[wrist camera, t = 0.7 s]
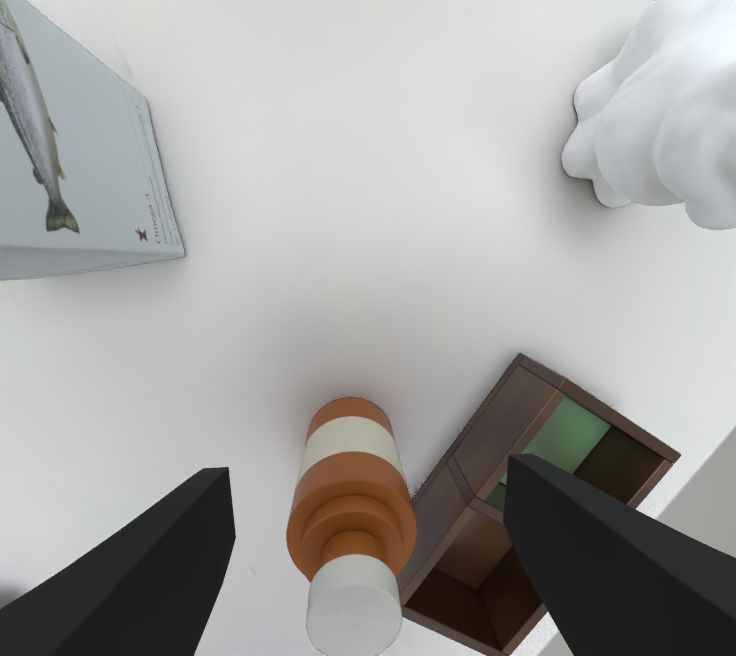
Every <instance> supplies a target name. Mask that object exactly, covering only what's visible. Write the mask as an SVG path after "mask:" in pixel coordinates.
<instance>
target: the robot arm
mask: <svg viewBox="0 0 736 656" xmlns="http://www.w3.org/2000/svg"><path fill="white" fill-rule="evenodd" d="M503 523H504V526H505V528H506V530H507V533H508V535H509V538H510V540H511V542H512V545H513V547H514V549H515V551H516V554H517V556H518V558H519V560H520V562H521V564H522V566H523V568H524V570H525V572H526V573H527V575H528V577H529V579H530V581H531V582H532V584H533V586H534V588H535V589H536V591H537V593H538V595H539V596H540V598H541V600H542V602H543V603H544V605H545V607H546V609H547V610H548V612H549V614H550V615H551V617H552V619H553V621H554V622H555V624H556V626H557V627H558V629H559V631H560V633H561V634H562V636H563V638H564V640H565V641H566V643H567V644H568V647H569V648H570V650H571V652H572V653H573V655H574V656H736V558H734V557H732V556H730V555H728V554H725V553H723V552H721V551H718V550H716V549H714V548H712V547H710V546H708V545H706V544H703V543H701V542H699V541H697V540H695V539H693V538H691V537H688V536H687V535H684V534H682V533H681V532H679V531H677V530H674V529H673V528H671V527H669V526H667V525H665V524H663V523H661V522H659V521H657V520H655V519H653V518H651V517H649V516H647V515H645V514H643V513H641V512H639V511H637V510H635V509H634V508H632V507H630V506H628V505H626V504H624V503H622V502H621V501H619V500H617V499H615V498H613V497H611V496H609V495H608V494H606V493H604V492H602V491H600V490H599V489H597V488H595V487H593V486H591V485H590V484H588V483H586V482H584V481H582V480H581V479H579V478H577V477H575V476H574V475H572V474H570V473H568V472H566V471H565V470H563V469H561V468H559V467H557V466H555V465H554V464H552V463H550V462H548V461H546V460H544V459H542V458H540V457H538V456H536V455H534V454H531V453H529V454H508V466H507V479H506V491H505V503H504V515H503ZM235 538H236V535H235V525H234V516H233V506H232V496H231V487H230V477H229V468H228V467H222V468H203V469H202V470H200V471H199V472H197V473H196V474H194V475H193V476H192V477H190V478H189V479H187V480H186V481H185V482H183V483H182V484H181V485H179V486H178V487H177V488H175V489H174V490H173V491H171V492H170V493H169V494H168V495H166V496H165V497H164V498H162V499H161V500H160V501H158V502H157V503H156V504H154V505H153V506H152V507H150V508H149V509H148V510H146V511H145V512H144V513H142V514H141V515H140V516H138V517H137V518H135V519H134V520H133V521H131V522H130V523H129V524H127V525H126V526H125V527H123V528H122V529H121V530H119V531H118V532H116V533H115V534H113V535H112V536H111V537H109V538H108V539H106V540H105V541H103V542H102V543H101V544H99V545H98V546H96V547H95V548H93V549H92V550H90V551H89V552H88V553H86V554H85V555H83V556H82V557H80V558H79V559H78V560H76V561H75V562H73V563H72V564H70V565H69V566H68V567H66V568H65V569H63V570H62V571H60V572H58V573H57V574H55V575H54V576H52V577H51V578H49V579H48V580H46V581H45V582H43V583H42V584H40V585H38V586H37V587H35V588H34V589H32V590H31V591H29V592H27V593H26V594H24V595H23V596H21V597H19V598H18V599H16V600H14V601H13V602H11V603H10V604H8V605H6V606H5V607H3V608H1V609H0V656H194V654H195V651H196V649H197V646H198V644H199V641H200V639H201V636H202V634H203V631H204V629H205V627H206V624H207V622H208V619H209V617H210V614H211V612H212V609H213V607H214V604H215V602H216V599H217V597H218V594H219V591H220V589H221V586H222V584H223V581H224V577H225V574H226V571H227V567H228V564H229V560H230V557H231V553H232V549H233V546H234V542H235Z"/></svg>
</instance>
